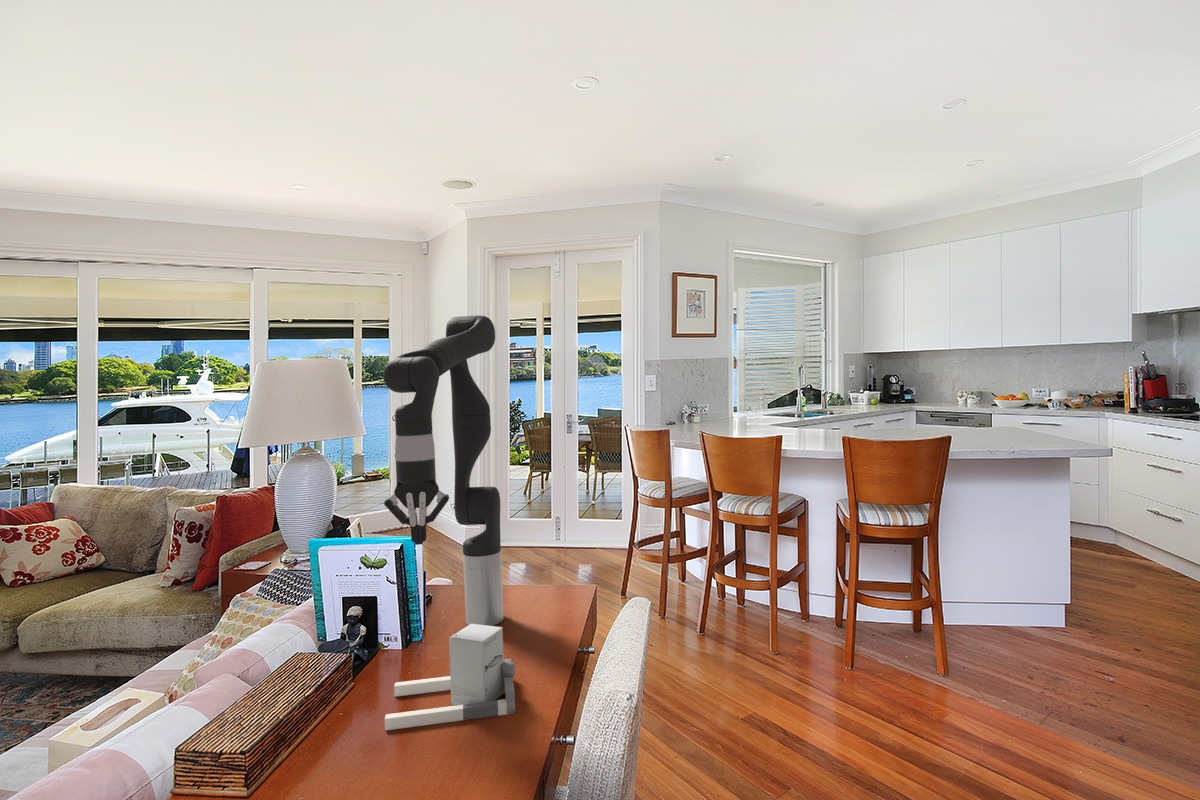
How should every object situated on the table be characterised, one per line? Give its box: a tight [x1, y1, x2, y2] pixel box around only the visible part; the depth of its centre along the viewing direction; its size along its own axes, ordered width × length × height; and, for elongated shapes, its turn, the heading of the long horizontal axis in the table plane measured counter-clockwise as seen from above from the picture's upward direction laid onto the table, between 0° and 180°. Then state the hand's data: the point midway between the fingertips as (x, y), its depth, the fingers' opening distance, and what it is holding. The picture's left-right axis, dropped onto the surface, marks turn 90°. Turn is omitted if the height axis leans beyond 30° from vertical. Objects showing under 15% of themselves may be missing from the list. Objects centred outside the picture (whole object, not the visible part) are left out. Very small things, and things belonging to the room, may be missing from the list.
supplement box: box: [448, 624, 505, 706], centre depth 117 cm, size 7×7×13 cm
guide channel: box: [384, 658, 516, 731], centre depth 116 cm, size 14×22×6 cm, turn 101°
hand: (419, 543), depth 126 cm, fingers closed
